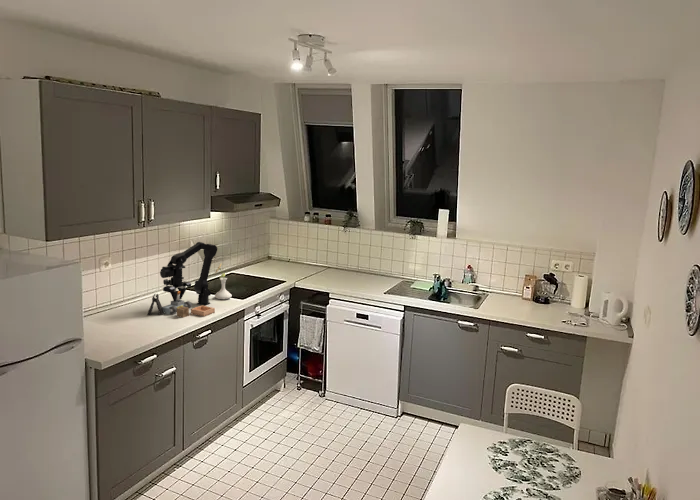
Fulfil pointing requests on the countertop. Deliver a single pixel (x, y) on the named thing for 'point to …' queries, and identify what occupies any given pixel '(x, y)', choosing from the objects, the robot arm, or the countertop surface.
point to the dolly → (175, 306)
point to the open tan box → (202, 310)
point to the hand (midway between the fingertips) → (177, 300)
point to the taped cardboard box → (182, 311)
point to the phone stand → (157, 305)
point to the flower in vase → (223, 292)
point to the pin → (178, 297)
